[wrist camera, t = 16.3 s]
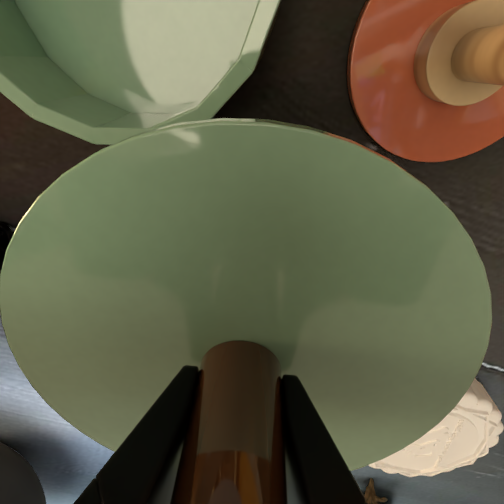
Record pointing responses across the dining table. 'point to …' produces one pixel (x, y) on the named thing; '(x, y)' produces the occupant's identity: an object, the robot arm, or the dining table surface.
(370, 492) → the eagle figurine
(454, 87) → the pestle
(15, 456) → the bowl of black rocks
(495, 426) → the mooncake
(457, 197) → the dining table surface
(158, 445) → the robot arm
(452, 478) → the dining table surface
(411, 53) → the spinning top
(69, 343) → the pot lid
